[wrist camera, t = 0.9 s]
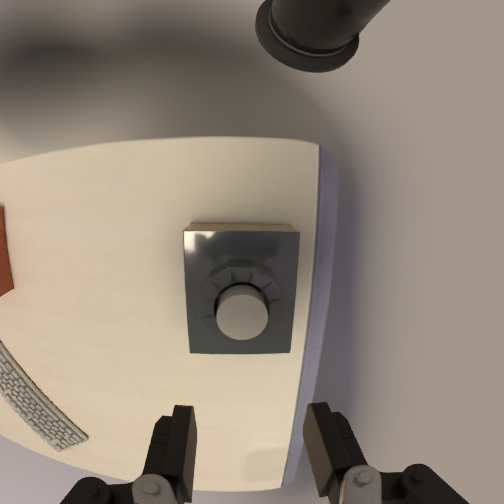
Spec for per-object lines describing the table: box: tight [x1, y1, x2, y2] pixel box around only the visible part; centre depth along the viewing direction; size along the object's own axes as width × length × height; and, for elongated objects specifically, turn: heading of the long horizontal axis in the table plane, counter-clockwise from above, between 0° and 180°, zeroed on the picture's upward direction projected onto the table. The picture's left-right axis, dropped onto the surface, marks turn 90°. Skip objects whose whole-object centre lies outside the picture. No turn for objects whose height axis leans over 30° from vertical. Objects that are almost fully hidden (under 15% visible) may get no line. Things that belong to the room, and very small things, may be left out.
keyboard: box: [0, 341, 88, 452], centre depth 28 cm, size 29×10×2 cm, turn 33°
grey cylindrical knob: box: [216, 285, 268, 340], centre depth 21 cm, size 4×4×2 cm
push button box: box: [183, 223, 300, 354], centre depth 24 cm, size 11×9×6 cm
